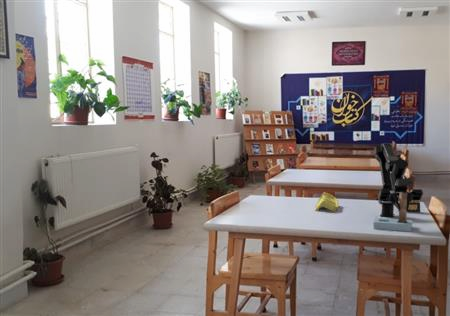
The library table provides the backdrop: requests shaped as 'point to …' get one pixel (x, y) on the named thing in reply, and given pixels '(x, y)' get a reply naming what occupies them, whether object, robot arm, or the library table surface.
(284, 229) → the library table surface
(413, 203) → the ammunition clip
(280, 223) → the library table surface
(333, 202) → the plastic component
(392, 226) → the peg board
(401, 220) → the walnut peg
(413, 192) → the robot arm
